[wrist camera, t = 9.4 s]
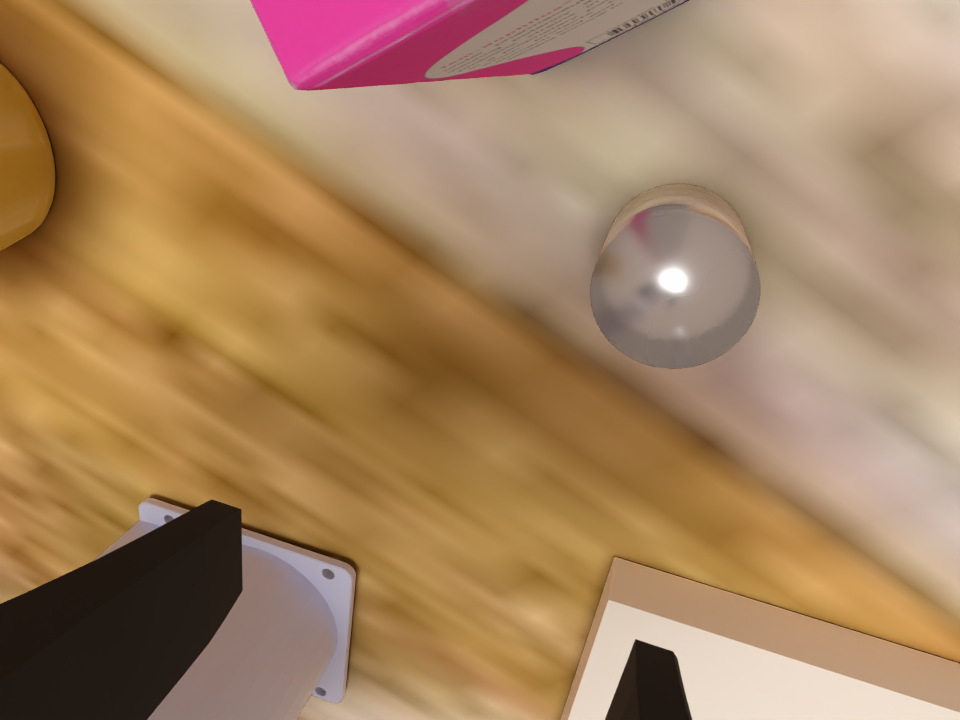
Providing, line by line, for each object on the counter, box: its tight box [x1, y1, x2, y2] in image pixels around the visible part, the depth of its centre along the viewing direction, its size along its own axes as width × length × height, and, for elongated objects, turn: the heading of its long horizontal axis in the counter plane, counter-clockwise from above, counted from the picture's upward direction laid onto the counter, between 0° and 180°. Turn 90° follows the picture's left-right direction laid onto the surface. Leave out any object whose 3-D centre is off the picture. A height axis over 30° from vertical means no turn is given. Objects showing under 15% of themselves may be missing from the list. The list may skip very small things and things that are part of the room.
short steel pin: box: [590, 184, 760, 369], centre depth 16 cm, size 4×4×4 cm
